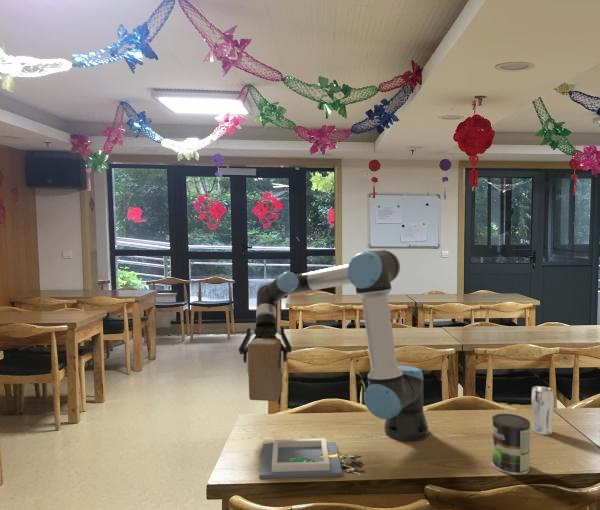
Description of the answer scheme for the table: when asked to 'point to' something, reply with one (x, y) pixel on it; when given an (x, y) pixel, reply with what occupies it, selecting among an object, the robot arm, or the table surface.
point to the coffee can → (511, 444)
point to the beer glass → (542, 409)
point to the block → (264, 369)
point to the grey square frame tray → (282, 450)
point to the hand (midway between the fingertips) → (264, 369)
